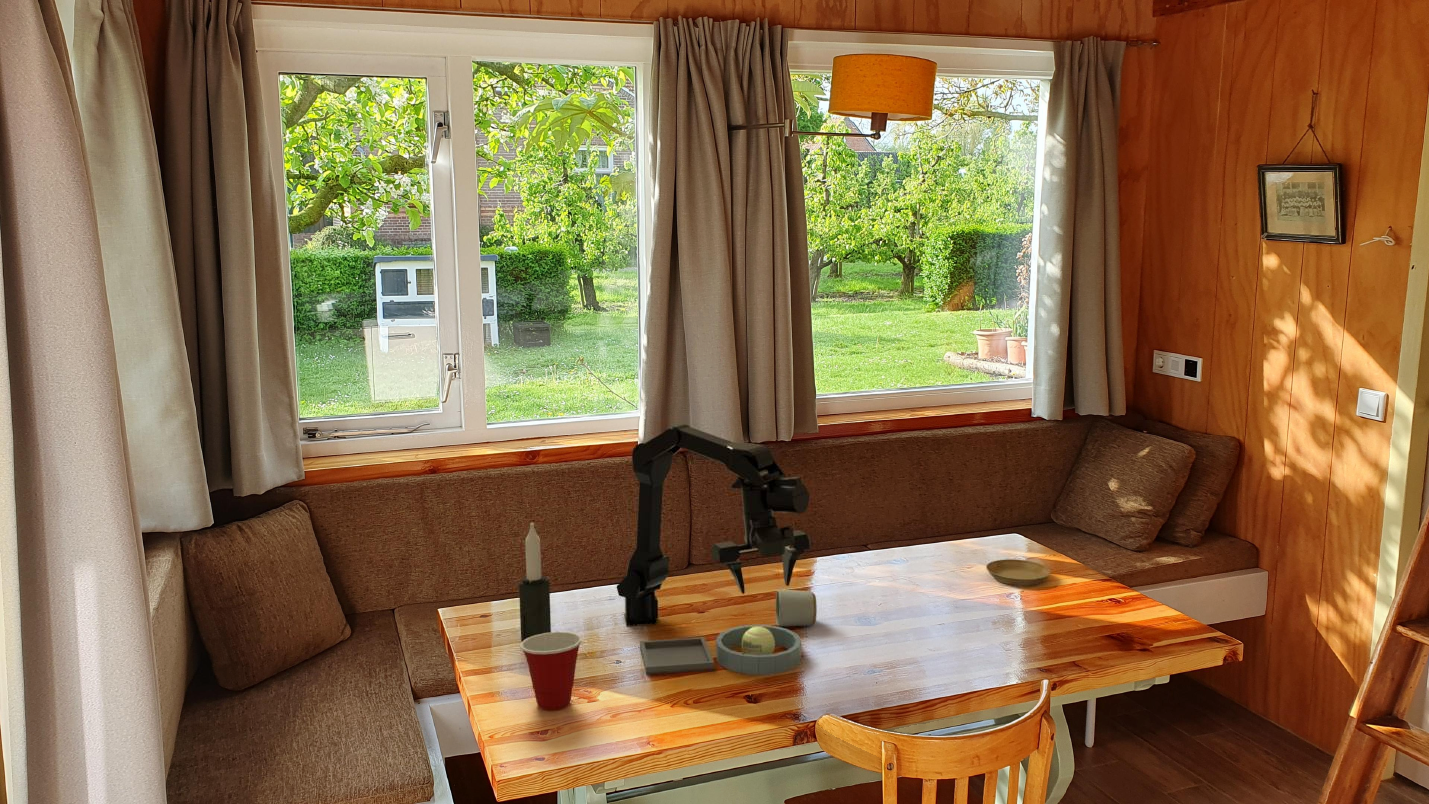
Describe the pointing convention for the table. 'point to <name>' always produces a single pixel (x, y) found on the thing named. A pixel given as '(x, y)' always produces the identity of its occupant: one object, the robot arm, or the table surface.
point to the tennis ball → (758, 641)
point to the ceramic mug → (795, 608)
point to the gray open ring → (758, 662)
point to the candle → (534, 592)
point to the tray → (676, 655)
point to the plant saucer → (1018, 572)
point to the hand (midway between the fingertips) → (765, 589)
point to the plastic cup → (552, 667)
